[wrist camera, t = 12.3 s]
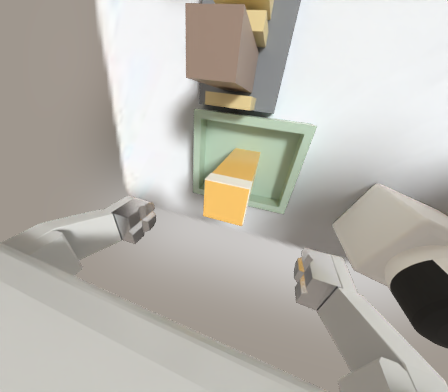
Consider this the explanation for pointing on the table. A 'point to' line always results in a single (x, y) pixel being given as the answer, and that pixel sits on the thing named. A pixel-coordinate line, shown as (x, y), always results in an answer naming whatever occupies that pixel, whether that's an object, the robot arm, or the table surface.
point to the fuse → (231, 187)
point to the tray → (254, 141)
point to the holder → (239, 50)
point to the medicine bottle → (401, 254)
